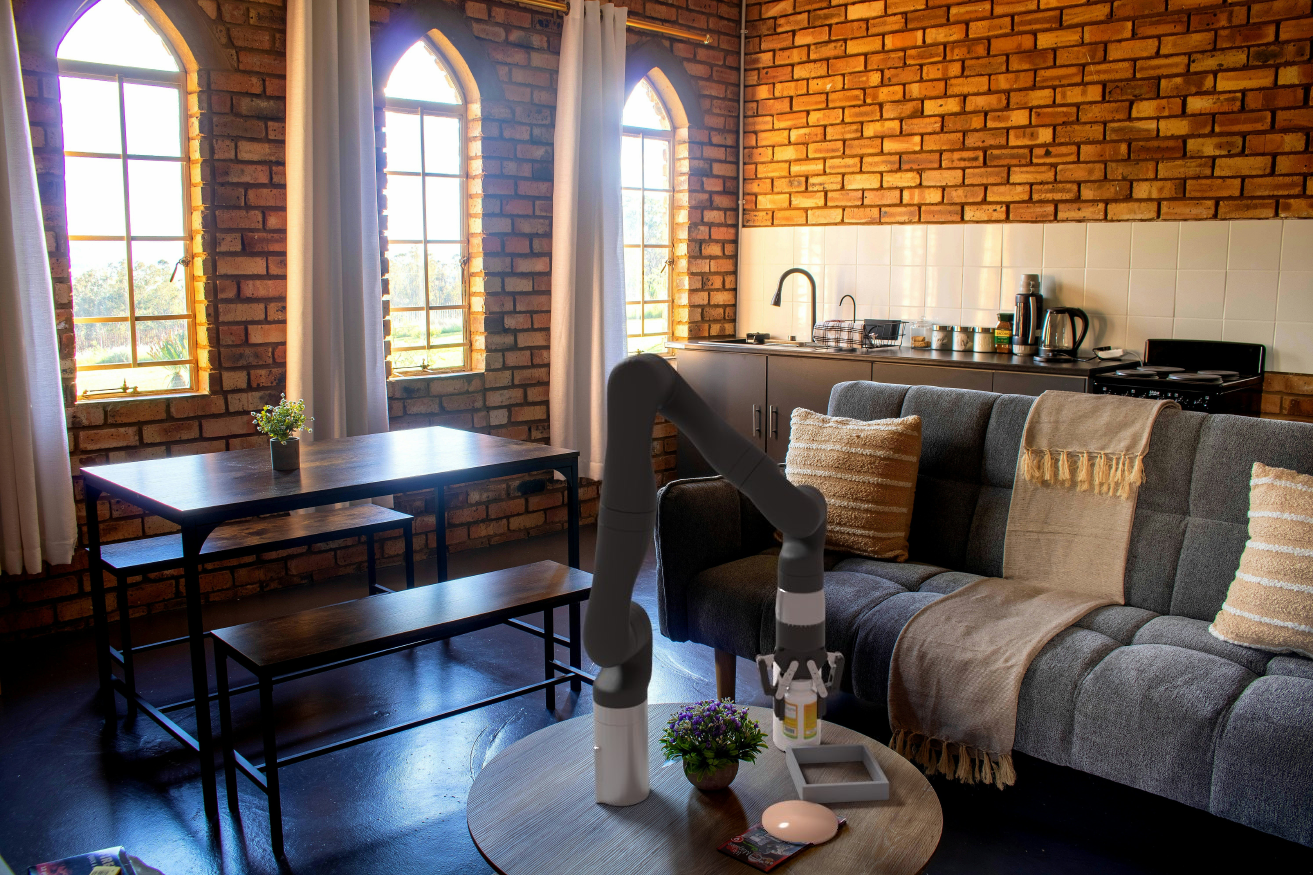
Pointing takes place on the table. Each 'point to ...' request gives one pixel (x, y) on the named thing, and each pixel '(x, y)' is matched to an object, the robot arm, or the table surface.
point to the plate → (800, 822)
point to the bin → (837, 791)
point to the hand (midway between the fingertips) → (799, 717)
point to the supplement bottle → (800, 711)
